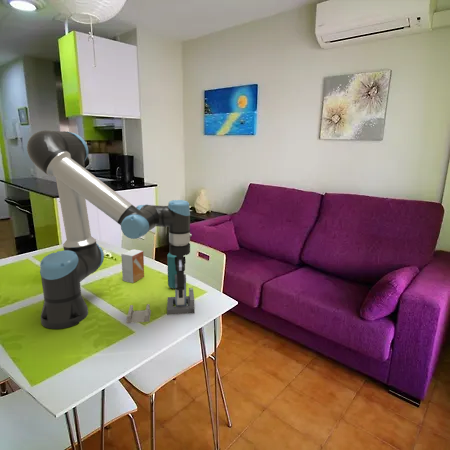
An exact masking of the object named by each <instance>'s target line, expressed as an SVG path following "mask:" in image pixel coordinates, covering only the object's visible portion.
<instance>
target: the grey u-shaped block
mask: <svg viewBox="0 0 450 450" xmlns="http://www.w3.org/2000/svg"><path fill="white" fill-rule="evenodd" d="M151 314H152V310H151V309H150V304H149V303H148V304H146V307H145V310H144V309H143V310H134V305H132V304H131V305H129V308H128V313H127V316H126V322H125V323H126V324H129V323H130V324H131V323H134V324H135V323H147V322H150V321H151V320H150V319H151Z"/></svg>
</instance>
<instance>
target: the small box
mask: <svg viewBox="0 0 450 450" xmlns="http://www.w3.org/2000/svg"><path fill="white" fill-rule="evenodd" d="M120 257H121V272H122V281H123V282H127V283H132V284H134V283H136V282H138V281H139V280H141V279H143V278H145V265H144V264H145V259H144V258H145V255H144V251H143V250H139V249H135V248H133V249H132V248H131V249H130V250H128V251H125V252H123V253H121V256H120Z"/></svg>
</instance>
